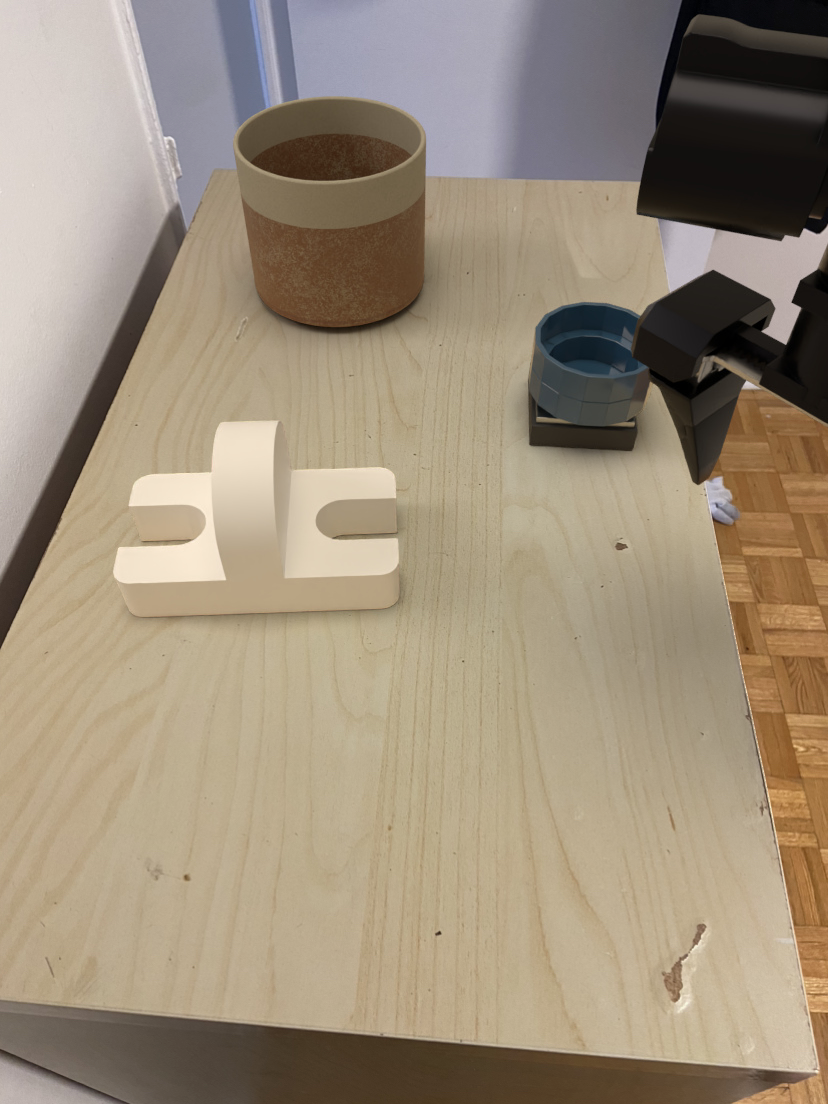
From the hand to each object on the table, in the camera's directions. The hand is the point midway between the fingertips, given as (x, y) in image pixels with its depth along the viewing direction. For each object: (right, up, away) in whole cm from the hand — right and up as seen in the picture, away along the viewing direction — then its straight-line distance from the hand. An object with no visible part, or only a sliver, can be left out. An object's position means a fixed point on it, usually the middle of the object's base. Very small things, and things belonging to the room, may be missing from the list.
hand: (772, 528), depth 44 cm
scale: (-5, +10, +24) cm, 26 cm away
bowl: (-5, +11, +22) cm, 25 cm away
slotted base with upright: (-29, -2, +14) cm, 32 cm away
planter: (-26, +24, +36) cm, 50 cm away
